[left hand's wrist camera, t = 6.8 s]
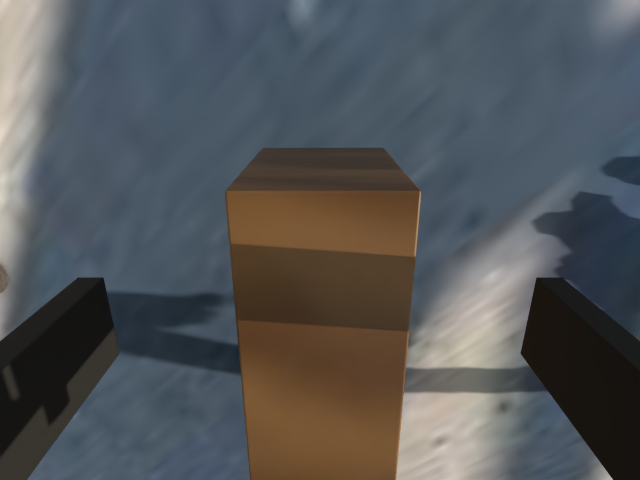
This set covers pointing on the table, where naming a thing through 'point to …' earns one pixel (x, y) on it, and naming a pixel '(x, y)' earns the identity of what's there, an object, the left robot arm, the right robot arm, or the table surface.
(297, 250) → the bar
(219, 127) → the table surface
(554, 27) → the table surface
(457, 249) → the table surface
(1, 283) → the light bulb
